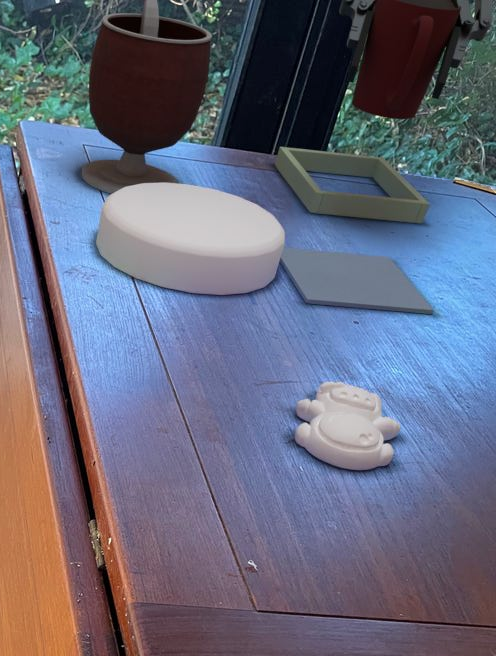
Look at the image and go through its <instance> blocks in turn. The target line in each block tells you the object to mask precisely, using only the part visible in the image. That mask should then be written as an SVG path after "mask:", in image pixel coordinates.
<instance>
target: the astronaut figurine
mask: <svg viewBox="0 0 496 656" xmlns="http://www.w3.org/2000/svg"><path fill="white" fill-rule="evenodd" d="M382 407H383V403H382V399H381V398H380V396H379V395H378V394H376V393H373V392H370V391H368V390H366V389H364V388H362V387H358V386H355V385H351V384H346V383H344V382H343V381H336V382H335V381H325V382H323V383H321V384H320V385H319V387H318V389H317V391H316V395H315V399H312V400H310V399H309V398H304V399H300V400H299V401H297V403H296V406H295V411H296V416H297V417H299V418H300V419H302V420H304V421H306V422H303V423H300V425H298V426H297V427H296V429H295V433H294V441H295V442H296V444H297V445H298V446H300V447H302V448H305V450H306V451H307V452H309V454H311V455H312V456H314V457H315V458H317V459H319V460H321V461H322V462H323V463H324V462H325V463H327V464H329V465H331V466H334V467H337V468H340V469H341V468H342V469H346V470H352V471H365V470H372V469H375V468H376V467H383V466H388V465H389V464H390V463H391V462H392V459H393V457H394V454H395V453H394V452H395V451H394V448H393V446H392V445H391V444H390V443H388V442H387V443H384V442H385V441H389V440H392V439H394V438H395V437H396V436H398V435H399V433H400V432H401V427H402V426H401V424H400V423H399V421H397V419H394V418H391V417H389V416H383V414H382V409H383V408H382ZM307 422H308V423H307Z"/></svg>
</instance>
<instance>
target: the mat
mask: <svg viewBox="0 0 496 656" xmlns="http://www.w3.org/2000/svg"><path fill="white" fill-rule="evenodd" d="M279 264H280V265H281V266H282V268H283V270H284V271H285V272H286V274H287V276H288V277H289V279H290V280H291V282H292V283H293V285H294V287H295V288H296V290H297V292H298V293H299V295H300V296H301V298H302V299H303V301H304V302H305V304H307V305H308V304H310V305H318V306H319V305H320V306H331V307H332V306H333V307H344V308H356V309H367V310H379V311H390V312H403V313H411V314H412V313H413V314H426V315H433V314H434V311H435V310H434V308H433V307H432V306H431V304H430V303H429V302H428V301H427V300H426V298H425V297H424V296H423V295H422V294H421V293H420V292H419V290H418V288H416V287H415V285H414V284H413V283H412V282H411V281H410V279H409V278H408V276H406V275H405V274H404V272H403V271H402V270H401V268H400V267H398V265H397V264H396V262H395V261H394V260H393V259H392V258H391V257H390V256H379V255H369V254H358V253H347V252H337V251H327V250H326V251H325V250H315V249H314V250H313V249H303V248H295V247H293V248H292V247H284V248H283V251H282V254H281V258H280V261H279Z"/></svg>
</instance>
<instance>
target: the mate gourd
mask: <svg viewBox="0 0 496 656" xmlns="http://www.w3.org/2000/svg"><path fill="white" fill-rule="evenodd" d="M143 2H144V3H143V9H142V13H131V12H130V13H129V12H120V13H119V12H118V13H111V14H107V15H104V16H102V17H101V18H102V19H101V24H100V28H99V30H98V33H97V36H96V40H95V43H94V46H93V51H92V54H91V60H90V61H91V62H90V68H89V75H88V103H89V105H88V106H89V113H90V115H91V117H92V120H93V122H94V124H95V126H96V130H97V131H98V133H99V134H100V135H102V136H103V137H104V138H105V139H107V140H109V141H110V142H112V143H113V144H115V145H116V146H118V147H119V148H121V149H122V150H123V152H122V154H121V156H120V157H119V159H97V160H93V161H90V162H87V163H86V164H84V165H83V167H81V178H82V180H83V181H84V182H85V183H86V184H87V185H89V186H91V187H92V188H94V189H96V190H99V191H100V192H101V191H102V192H104V193H107V194H110V195H111V194H113V193H115V192H116V191H118V190H120V189H122V188H124V187H127V186H132V185H137V184H142V183H177V184H179V182H178V179H177V178H176V177H175V176H174V175H173V174H171V173H169V172H168V171H166V170H164V169H161V168H159V167H157V166H154V165H150V164H147V161H146V154H148V153H151V152H154V151H160V150H163V149H166V148H171V147H173V146H175V145H176V144H178V142H180V140H181V139H182V138H183V137H184V136H185V135H186V134H187V133H188V132H189V131H190V130H191V129H192V127H193V125H194V123H195V121H196V118H197V116H198V113H199V110H200V108H201V105H202V102H203V99H204V96H205V92H206V88H207V83H208V79H209V74H210V63H211V52H212V51H211V49H212V48H211V46H212V44H211V41H212V38H213V35H212V33H211V32H210V31H209V30H208V29H206V28H203V27H201V26H198V25H196V24H193V23H190V22H187V21H183V20H179V19H175V18H170V17H165V16H160V10H159V3H158V0H144V1H143Z"/></svg>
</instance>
